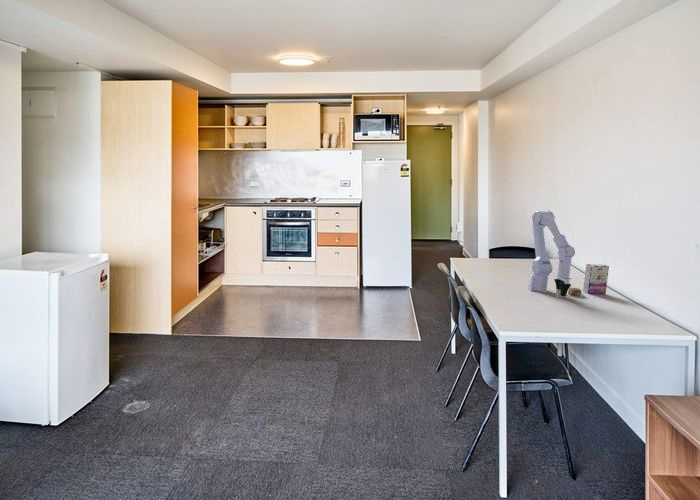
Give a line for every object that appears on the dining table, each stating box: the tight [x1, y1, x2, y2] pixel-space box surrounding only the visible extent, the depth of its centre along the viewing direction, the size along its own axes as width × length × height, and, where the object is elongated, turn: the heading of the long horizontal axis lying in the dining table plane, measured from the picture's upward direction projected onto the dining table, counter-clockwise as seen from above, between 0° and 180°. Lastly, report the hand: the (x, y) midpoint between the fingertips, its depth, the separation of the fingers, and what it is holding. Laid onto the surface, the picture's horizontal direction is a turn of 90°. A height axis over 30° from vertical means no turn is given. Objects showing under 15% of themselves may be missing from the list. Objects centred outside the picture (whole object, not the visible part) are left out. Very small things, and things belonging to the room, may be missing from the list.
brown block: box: [568, 287, 583, 298], centre depth 273 cm, size 5×5×4 cm
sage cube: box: [555, 288, 567, 299], centre depth 267 cm, size 4×4×4 cm
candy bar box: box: [582, 263, 610, 295], centre depth 280 cm, size 11×5×16 cm, turn 101°
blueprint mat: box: [566, 289, 588, 299], centre depth 277 cm, size 11×16×1 cm
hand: (561, 294), depth 267 cm, fingers open, 7 cm apart
